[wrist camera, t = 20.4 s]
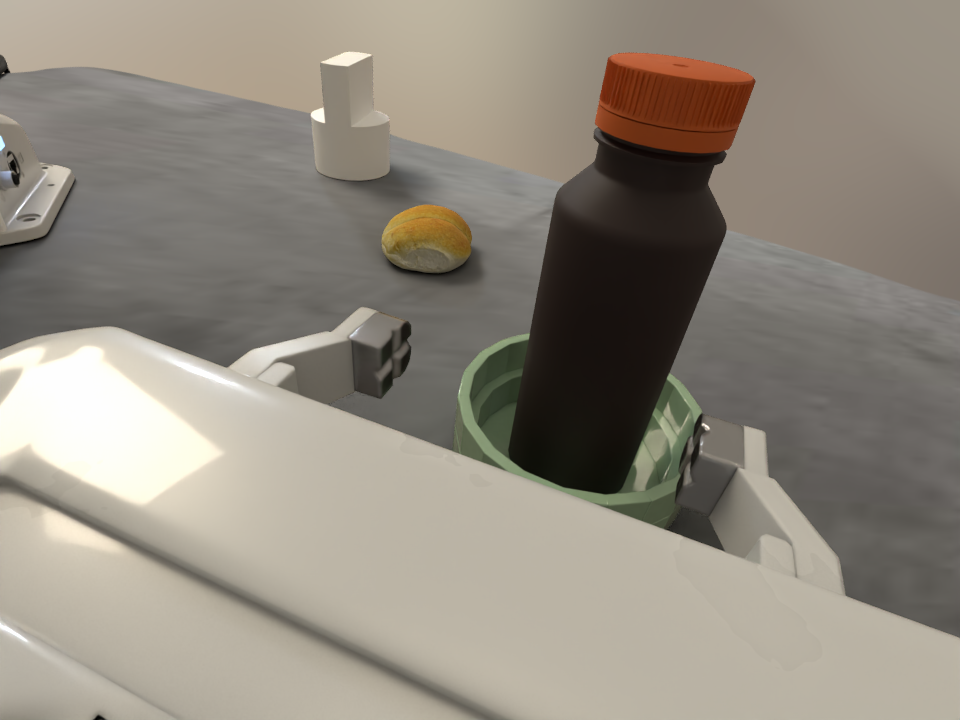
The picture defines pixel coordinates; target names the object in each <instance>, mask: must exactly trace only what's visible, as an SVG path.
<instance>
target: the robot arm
mask: <svg viewBox="0 0 960 720" xmlns="http://www.w3.org/2000/svg"><path fill="white" fill-rule="evenodd" d="M3 72H4V73H10V71H9V69H8V67H7V63H6V61H5V59H4V57H3V56H2V55H0V74H2V73H3ZM74 180H75V177H74V175H73V173H72V171H71V170H70V169H68V168H64V167H61V166H56V165H51V164H45V163H39V161H38V159H37V156H36V154H35V152H34V149H33V147H32V145H31V143H30V141H29V139H28V137H27V135H26V133H25V132H24V130H23V128H22V127H21V126H20V125H19V124H18V123H17V122H15V121H14V120H12V119H11V118H9V117H7V116H5V115H3V114H1V113H0V246H2V245H7V244H13V243H18V242H23V241H28V240H32V239H36V238H39V237H42V236H44V235H46V234H47V233H48V231H49V229H50V227H51V225H52V223H53V221H54V219H55V217H56V215H57V214H58V212H59V210H60V208H61V206H62V204H63V202H64V200H65V198H66V196H67V194H68V192H69V190H70V188H71V186H72V184H73V182H74ZM410 335H411V324H410V323H409V322H408V321H405V320H402V319H399V318H396V317H393V316H390V315H387V314H385V313H382V312H378V311H375V310H372V309H369V308H366V307H361V308H359V309H358V310H357V311H356V312H354V313H353V314H352V315H351V316H350V317H349V318H347V319H346V320H345V321H344V322H343V323H342V324H340V325H339V326H338V327H337V328H336V329H335V330H333V331H332V332H331V333H330V332H327V331H326V332H322V333H318V334H314V335H310V336H306V337H302V338H298V339H294V340H290V341H285V342H281V343H277V344H273V345H269V346H265V347H261V348H257V349H253V350H250V351H249V352H248V353H246V354H245V355H244V356H242V357H241V358H240V359H239V360H237V361H236V362H235V363H233V364H232V365H231V366H229V367H228V368H225V367H223V366H220V365H217V364H215V363H212V362H209V361H206V360H204V359H201V358H198V357H196V356H193V355H190V354H187V353H185V352H182V351H179V350H177V349H174V348H171V347H168V346H166V345H163V344H160V343H158V342H155V341H152V340H150V339H147V338H144V337H142V336H139V335H137V334H134V333H132V332H129V331H126V330H124V329H120V328H116V327H97V328H87V329H80V330H74V331H68V332H62V333H56V334H50V335H44V336H39V337H35V338H32V339H28V340H25V341H22V342H20V343H17V344H14V345H12V346H9V347H7V348H4V349H2V350H0V720H960V638H958V637H955V636H953V635H950V634H947V633H945V632H942V631H939V630H936V629H934V628H931V627H928V626H925V625H923V624H920V623H917V622H915V621H912V620H909V619H906V618H904V617H901V616H898V615H895V614H893V613H890V612H887V611H885V610H882V609H879V608H876V607H874V606H871V605H868V604H866V603H863V602H860V601H857V600H855V599H852V598H849V597H847V596H846V595H845V589H844V583H843V577H842V571H841V566H840V560H839V558H838V557H837V555H836V554H835V553H834V552H833V550H832V549H831V548H830V547H829V545H828V544H827V543H826V542H825V541H824V539H823V538H822V537H821V536H820V534H819V533H818V532H817V531H816V529H815V528H814V527H813V526H812V525H811V523H810V522H809V521H808V520H807V518H806V517H805V516H804V515H803V514H802V512H801V511H800V510H799V509H798V507H797V506H796V505H795V504H794V502H793V501H792V500H791V499H790V498H789V496H788V495H787V494H786V493H785V491H784V490H783V489H782V488H781V487H780V485H779V484H778V483H777V482H776V480H775V479H772V478H769V473H768V459H767V444H766V434H765V432H764V431H761V430H758V429H754V428H751V427H747V426H744V425H742V426H741V425H738V424H735V423H731V422H728V421H725V420H722V419H718V418H715V417H712V416H709V415H705V414H702V413H701V414H700V415H699V417H698V418H697V420H696V423H695V425H694V433H693V435H692V436H690V437H688V439H687V442H686V444H685V446H684V449H683V452H682V455H681V458H680V463H679V469H678V472H679V473H680V475H681V476H680V478H679V480H678V482H677V486H676V495H675V504H677V505H680V506H682V507H685V508H687V509H690V510H693V511H695V512H698V513H701V514H703V515H706V516H708V517H709V520H710V522H711V524H712V526H713V528H714V530H715V532H716V534H717V536H718V538H719V540H720V542H721V544H722V546H723V548H724V550H725V552H724V551H722V550H719V549H716V548H714V547H711V546H708V545H705V544H703V543H700V542H697V541H695V540H692V539H689V538H686V537H684V536H681V535H678V534H676V533H673V532H670V531H668V530H665V529H662V528H659V527H657V526H654V525H651V524H649V523H646V522H643V521H640V520H638V519H635V518H632V517H630V516H627V515H624V514H621V513H619V512H616V511H613V510H611V509H608V508H605V507H602V506H600V505H597V504H594V503H592V502H589V501H586V500H583V499H581V498H578V497H575V496H573V495H570V494H567V493H564V492H562V491H559V490H556V489H554V488H551V487H548V486H545V485H543V484H540V483H537V482H535V481H532V480H529V479H526V478H524V477H521V476H518V475H515V474H513V473H510V472H507V471H505V470H502V469H499V468H497V467H494V466H491V465H488V464H486V463H483V462H480V461H478V460H475V459H472V458H469V457H467V456H464V455H461V454H459V453H456V452H453V451H450V450H448V449H445V448H442V447H440V446H437V445H434V444H431V443H429V442H426V441H423V440H421V439H418V438H415V437H413V436H410V435H407V434H404V433H402V432H399V431H396V430H394V429H391V428H388V427H385V426H383V425H380V424H377V423H375V422H372V421H369V420H366V419H364V418H361V417H358V416H356V415H353V414H350V413H347V412H345V411H342V410H339V409H337V408H334V407H331V406H328V405H327V404H329V403H331V402H333V401H336V400H338V399H340V398H342V397H345V396H347V395H349V394H351V393H354V392H355V391H357V392H361V393H364V394H367V395H370V396H373V397H376V398H379V399H381V398H382V397H383V396H384V395H385V394H386V393H387V391H388V390H389V389H390V388H391V387H392V386H393V379H394V378H397V377H400V376H401V375H402V374H403V372H404V371H405V370H406V367H407V365H408V363H409V360H410V355H411V346H410V345H409V343H408V341H407V339H408V337H409V336H410Z"/></svg>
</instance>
